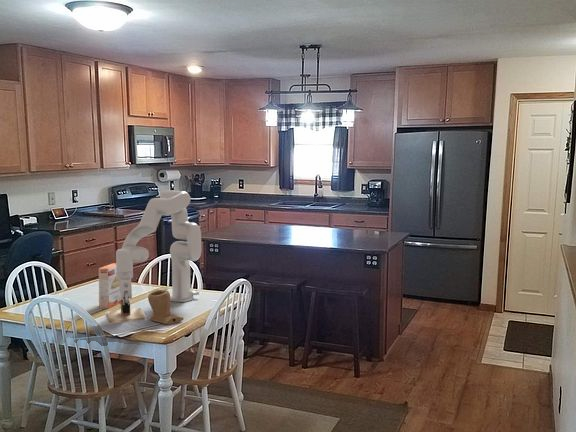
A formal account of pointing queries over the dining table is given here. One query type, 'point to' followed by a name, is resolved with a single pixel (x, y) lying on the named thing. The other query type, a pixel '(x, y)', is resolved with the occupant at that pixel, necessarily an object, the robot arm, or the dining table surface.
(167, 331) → the dining table surface
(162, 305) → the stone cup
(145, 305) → the dining table surface
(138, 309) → the lid
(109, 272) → the cracker box
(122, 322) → the mat
